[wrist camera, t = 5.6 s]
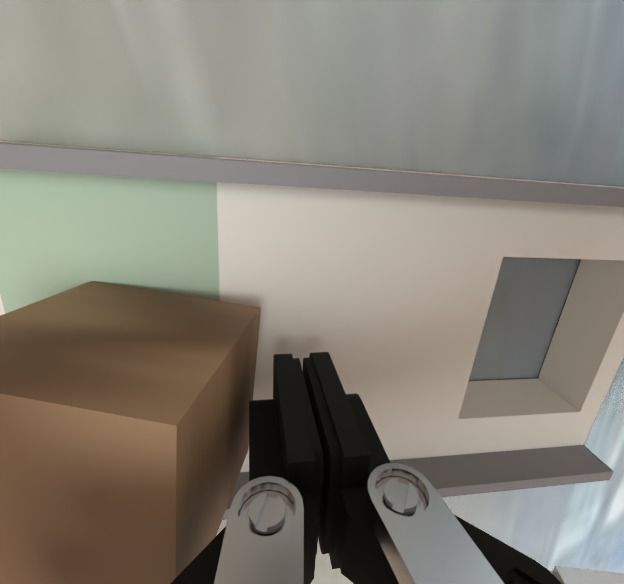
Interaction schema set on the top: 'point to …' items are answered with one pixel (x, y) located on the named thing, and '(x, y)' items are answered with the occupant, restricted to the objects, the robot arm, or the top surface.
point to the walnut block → (119, 432)
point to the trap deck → (349, 286)
